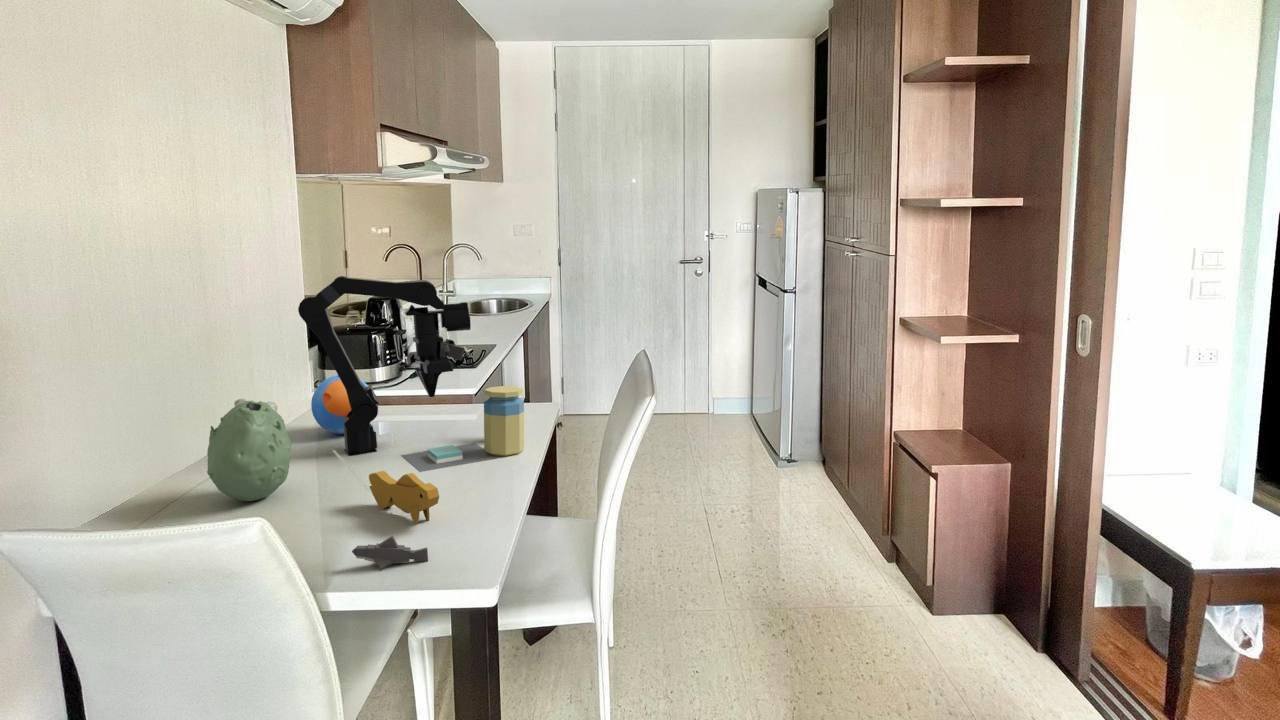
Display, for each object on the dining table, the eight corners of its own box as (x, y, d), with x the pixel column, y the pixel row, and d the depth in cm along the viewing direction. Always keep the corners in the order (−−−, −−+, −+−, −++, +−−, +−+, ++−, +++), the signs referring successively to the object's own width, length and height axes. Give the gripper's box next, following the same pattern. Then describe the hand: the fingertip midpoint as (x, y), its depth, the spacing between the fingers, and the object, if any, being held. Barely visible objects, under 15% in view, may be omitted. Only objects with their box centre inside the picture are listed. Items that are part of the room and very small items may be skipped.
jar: (526, 456, 202) (525, 392, 200) (485, 458, 200) (484, 393, 198) (522, 447, 211) (521, 385, 209) (483, 448, 209) (482, 386, 207)
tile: (427, 456, 204) (436, 463, 198) (427, 449, 203) (436, 455, 197) (453, 452, 207) (462, 459, 201) (452, 444, 206) (462, 451, 200)
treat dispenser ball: (373, 423, 240) (369, 367, 237) (379, 436, 226) (374, 377, 223) (313, 430, 234) (308, 373, 232) (315, 443, 220) (309, 383, 218)
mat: (420, 473, 192) (419, 471, 192) (400, 456, 206) (400, 455, 205) (498, 459, 201) (498, 458, 200) (474, 444, 214) (474, 443, 214)
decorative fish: (446, 520, 158) (435, 466, 158) (431, 525, 156) (420, 470, 156) (389, 520, 174) (379, 470, 174) (374, 524, 172) (364, 474, 172)
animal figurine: (428, 563, 146) (431, 534, 145) (426, 574, 141) (429, 544, 141) (353, 558, 144) (356, 528, 143) (348, 568, 139) (351, 538, 138)
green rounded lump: (199, 517, 168) (186, 415, 165) (226, 487, 186) (216, 395, 183) (285, 510, 171) (274, 409, 167) (304, 481, 189) (295, 390, 186)
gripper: (472, 333, 207) (476, 398, 209) (448, 326, 223) (452, 386, 225) (425, 338, 201) (430, 405, 204) (403, 330, 217) (408, 392, 220)
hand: (431, 396), depth 213 cm, fingers closed
